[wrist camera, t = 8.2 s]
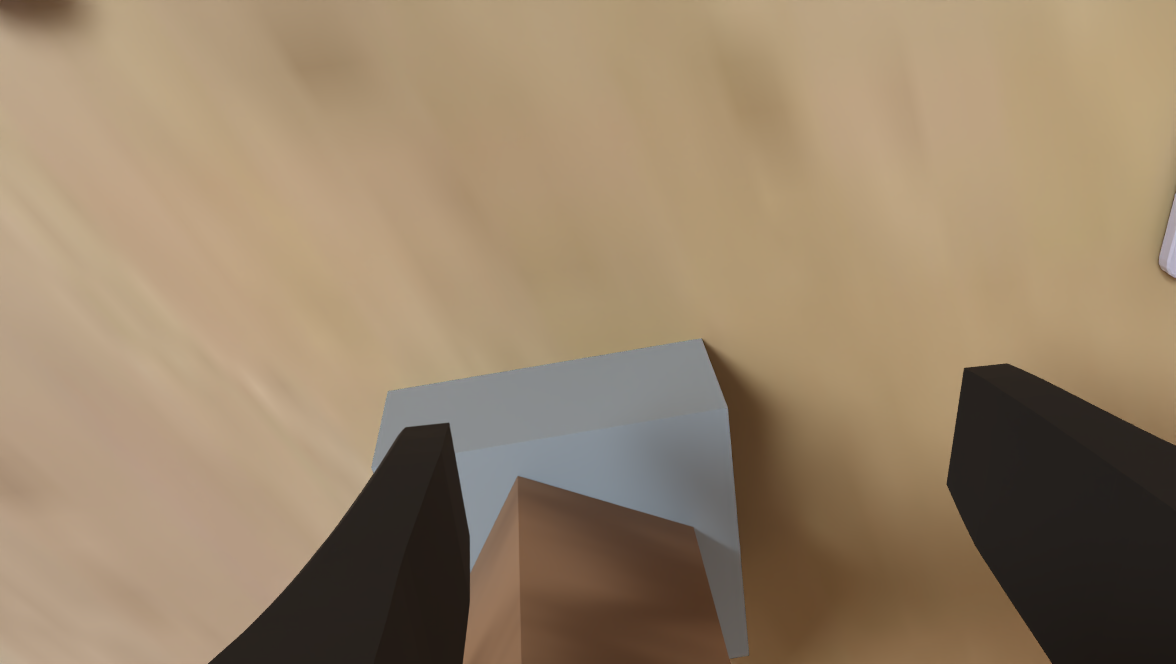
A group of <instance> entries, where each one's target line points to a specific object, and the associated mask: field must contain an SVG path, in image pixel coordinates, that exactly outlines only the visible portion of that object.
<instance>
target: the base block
mask: <svg viewBox="0 0 1176 664" xmlns="http://www.w3.org/2000/svg"><path fill="white" fill-rule="evenodd" d="M440 423H449V424H450V429H451V435H452V440H453V446H454V451H455V457H456V462H457V468H458V473H459V479H460V484H461V490H462V496H463V501H464V507H465V512H466V518H467V523H468V529H469V534H470V573H471V570H472V568H473V566H474V564H475V562H476V560H477V558H478V556H479V554H480V552H481V550H482V548H483V546H484V544H485V542H486V540H487V538H488V536H489V533H490V531H491V529H492V527H493V525H494V523H495V521H496V519H497V517H498V515H499V513H500V511H501V509H502V507H503V505H504V503H505V501H506V499H507V496H508V494H509V492H510V490H511V488H512V486H513V484H514V482H515V480H516V478H517V476H520V477H523V478H527V479H530V480H534V481H537V482H541V483H544V484H547V485H551V486H554V487H558V488H561V489H565V490H568V491H571V492H575V493H578V494H582V495H585V496H589V497H592V498H595V499H599V500H602V501H606V502H609V503H613V504H616V505H620V506H623V507H626V508H630V509H633V510H637V511H640V512H644V513H647V514H650V515H654V516H657V517H661V518H664V519H668V520H671V521H675V522H678V523H681V524H685V525H688V526H692V527H694V531H695V534H696V538H697V542H698V545H699V549H700V553H701V556H702V560H703V564H704V567H705V571H706V575H707V578H708V582H709V586H710V589H711V593H712V597H713V601H714V604H715V608H716V612H717V615H718V619H719V623H720V626H721V630H722V634H723V637H724V641H725V645H726V648H727V652H728V656H729V659H731V658H737V657H743V656H749V647H748V636H747V624H746V612H745V601H744V589H743V578H742V566H741V555H740V543H739V531H738V520H737V508H736V497H735V485H734V474H733V462H732V451H731V439H730V427H729V416H728V407H727V404H726V402H725V399H724V396H723V394H722V391H721V389H720V386H719V383H718V381H717V378H716V375H715V373H714V370H713V367H712V365H711V362H710V359H709V357H708V354H707V352H706V349H705V346H704V344H703V341H702V338H701V339H695V340H689V341H683V342H677V343H671V344H665V345H659V346H653V347H647V348H641V349H635V350H630V351H624V352H618V353H612V354H606V355H600V356H594V357H588V358H582V359H576V360H570V361H564V362H558V363H552V364H547V365H541V366H535V367H529V368H523V369H517V370H511V371H505V372H499V373H493V374H487V375H481V376H475V377H470V378H464V379H458V380H452V381H446V382H440V383H434V384H428V385H422V386H416V387H410V388H404V389H398V390H392V391H388V393H387V398H386V402H385V407H384V412H383V416H382V421H381V425H380V430H379V435H378V439H377V444H376V448H375V453H374V458H373V462H372V470H373V473H374V472H375V471H376V469H377V468H378V466H379V465H380V463H381V462H382V460H383V458H384V457H385V455H386V454H387V452H388V450H389V449H390V447H391V446H392V444H393V443H394V441H395V439H396V438H397V436H398V435H399V434H400V432H401V431H402V430H403V429H404V428H405V427H411V426H421V425H430V424H440Z"/></svg>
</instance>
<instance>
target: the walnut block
mask: <svg viewBox="0 0 1176 664" xmlns="http://www.w3.org/2000/svg"><path fill="white" fill-rule="evenodd" d="M463 664H731V663H730V659H729V656H728V652H727V648H726V645H725V641H724V637H723V634H722V630H721V626H720V623H719V619H718V615H717V612H716V608H715V604H714V601H713V597H712V593H711V589H710V586H709V582H708V578H707V575H706V571H705V567H704V564H703V560H702V556H701V553H700V549H699V545H698V542H697V538H696V534H695V531H694V527H692V526H688V525H685V524H681V523H678V522H675V521H671V520H668V519H664V518H661V517H657V516H654V515H650V514H647V513H644V512H640V511H637V510H633V509H630V508H626V507H623V506H620V505H616V504H613V503H609V502H606V501H602V500H599V499H595V498H592V497H589V496H585V495H582V494H578V493H575V492H571V491H568V490H565V489H561V488H558V487H554V486H551V485H547V484H544V483H541V482H537V481H534V480H530V479H527V478H523V477H520V476H517V478H516V480H515V482H514V484H513V486H512V488H511V490H510V492H509V494H508V496H507V499H506V501H505V503H504V505H503V507H502V509H501V511H500V513H499V515H498V517H497V519H496V521H495V523H494V525H493V527H492V529H491V531H490V533H489V536H488V538H487V540H486V542H485V544H484V546H483V548H482V550H481V552H480V554H479V556H478V558H477V560H476V562H475V564H474V566H473V568H472V570H471V573H470V606H469V615H468V624H467V632H466V641H465V649H464V658H463Z"/></svg>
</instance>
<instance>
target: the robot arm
mask: <svg viewBox="0 0 1176 664" xmlns="http://www.w3.org/2000/svg"><path fill="white" fill-rule="evenodd" d="M1159 265H1160V267H1161V269H1162V270H1163V271H1165V272H1166V273H1168V274H1169V275H1171V276H1173V277H1174V278H1176V194H1175V198H1174V201H1173V205H1172V209H1171V213H1170V217H1169V221H1168V225H1167V229H1166V233H1165V236H1164V240H1163V244H1162V248H1161V252H1160V256H1159ZM947 486H948V488H949V491H950V493H951V495H952V497H953V500H954V502H955V504H956V506H957V509H958V511H959V513H960V515H961V518H962V520H963V522H964V524H965V526H966V528H967V530H968V532H969V534H970V536H971V538H972V540H973V542H974V544H975V546H976V548H977V549H978V551H979V552H980V554H981V556H982V557H983V559H984V560H985V562H986V563H987V565H988V567H989V568H990V570H991V571H992V573H993V574H994V576H995V577H996V579H997V580H998V582H999V584H1000V585H1001V587H1002V588H1003V590H1004V591H1005V593H1006V594H1007V596H1008V597H1009V599H1010V600H1011V602H1012V603H1013V605H1014V606H1015V608H1016V609H1017V611H1018V612H1019V614H1020V615H1021V617H1022V618H1023V620H1024V622H1025V623H1026V625H1027V626H1028V628H1029V629H1030V631H1031V632H1032V634H1033V635H1034V637H1035V638H1036V640H1037V641H1038V643H1039V644H1040V646H1041V647H1042V649H1043V650H1044V652H1045V653H1046V655H1047V656H1048V658H1049V659H1050V661H1051V662H1052V664H1176V446H1175V445H1173V444H1171V443H1169V442H1167V441H1165V440H1162V439H1160V438H1158V437H1156V436H1154V435H1152V434H1150V433H1148V432H1146V431H1144V430H1142V429H1140V428H1138V427H1136V426H1134V425H1132V424H1130V423H1128V422H1126V421H1124V420H1122V419H1120V418H1118V417H1116V416H1114V415H1112V414H1110V413H1108V412H1106V411H1104V410H1102V409H1100V408H1098V407H1096V406H1094V405H1092V404H1090V403H1088V402H1087V401H1085V400H1083V399H1081V398H1079V397H1077V396H1075V395H1073V394H1071V393H1069V392H1067V391H1065V390H1063V389H1061V388H1059V387H1057V386H1055V385H1053V384H1051V383H1049V382H1047V381H1045V380H1043V379H1041V378H1039V377H1037V376H1035V375H1033V374H1030V373H1028V372H1026V371H1024V370H1022V369H1019V368H1017V367H1014V366H1012V365H1010V364H998V365H988V366H979V367H969V368H964V372H963V379H962V386H961V392H960V399H959V405H958V412H957V419H956V425H955V432H954V438H953V445H952V452H951V458H950V465H949V472H948V478H947ZM469 606H470V534H469V529H468V523H467V518H466V512H465V507H464V501H463V496H462V490H461V484H460V479H459V473H458V468H457V462H456V457H455V451H454V446H453V440H452V435H451V429H450V424H449V423H440V424H430V425H421V426H411V427H405V428H404V429H403V430H402V431H401V432H400V434H399V435H398V436H397V438H396V439H395V441H394V443H393V444H392V446H391V447H390V449H389V450H388V452H387V454H386V455H385V457H384V458H383V460H382V462H381V463H380V465H379V466H378V468H377V469H376V471H375V472H374V474H373V475H372V477H371V478H370V480H369V481H368V483H367V484H366V486H365V487H364V489H363V490H362V492H361V493H360V494H359V496H358V497H357V499H356V500H355V501H354V503H353V504H352V506H351V507H350V508H349V510H348V511H347V513H346V514H345V515H344V517H343V518H342V520H341V521H340V522H339V524H338V525H337V526H336V528H335V529H334V530H333V532H332V533H331V534H330V536H329V537H328V538H327V539H326V541H325V542H324V543H323V544H322V545H321V547H320V548H319V549H318V550H317V552H316V553H315V554H314V555H313V557H312V558H311V559H310V560H309V562H308V563H307V564H306V565H305V566H304V568H303V569H302V570H301V571H300V573H299V574H298V575H297V576H296V577H295V578H294V580H293V581H292V582H291V583H290V584H289V585H288V586H287V587H286V589H285V590H284V591H283V592H282V593H281V594H280V595H279V596H278V597H277V598H276V600H275V601H274V602H273V603H272V604H271V605H270V606H269V607H268V608H267V609H266V610H265V611H264V612H263V613H262V614H261V615H260V616H259V617H258V618H257V619H256V620H255V621H254V622H253V623H252V624H251V625H250V626H249V627H248V628H247V629H246V630H245V631H244V632H243V633H242V634H241V635H240V636H239V637H238V638H236V639H235V640H234V641H233V642H232V643H231V644H230V645H229V646H227V647H226V648H225V649H224V650H223V651H222V652H221V653H219V654H218V655H217V656H216V657H215V658H214V659H213V660H212V661H210V662H209V663H208V664H463V658H464V649H465V641H466V632H467V624H468V615H469Z"/></svg>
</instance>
